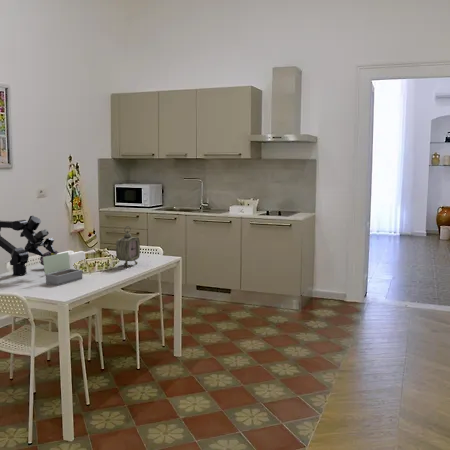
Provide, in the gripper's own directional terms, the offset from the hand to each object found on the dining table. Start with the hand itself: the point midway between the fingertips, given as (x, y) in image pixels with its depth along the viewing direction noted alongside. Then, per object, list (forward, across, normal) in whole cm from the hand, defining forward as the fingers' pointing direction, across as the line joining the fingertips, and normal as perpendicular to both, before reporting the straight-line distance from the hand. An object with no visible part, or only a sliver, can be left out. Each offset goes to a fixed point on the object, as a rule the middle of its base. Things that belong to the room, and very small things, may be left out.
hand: (48, 254), depth 303 cm
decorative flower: (-6, +23, +23) cm, 33 cm away
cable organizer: (+7, +20, +12) cm, 24 cm away
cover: (+9, -3, -2) cm, 10 cm away
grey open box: (+19, -3, +2) cm, 19 cm away
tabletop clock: (+24, +48, -2) cm, 54 cm away
